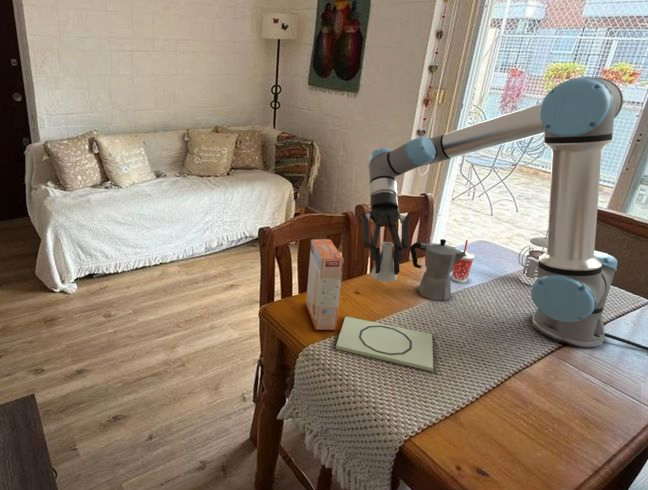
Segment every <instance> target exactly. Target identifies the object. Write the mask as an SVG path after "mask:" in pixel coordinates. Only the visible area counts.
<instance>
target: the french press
mask: <svg viewBox="0 0 648 490" xmlns="http://www.w3.org/2000/svg"><path fill="white" fill-rule="evenodd" d="M547 241H548V229H547V231H546V235H545V236H537V237H536V236H535V237H532V238H530V239H529V243H530V244H532V245H534V246H536V247H540V248H542V250H539V249H534V247H531V245H526V246H524V247H523V248H522V249H521V250H520V251H519V253H518V260H517V261H518V264H519V265H521V266H522V267H523V269H522V273H523V274H525V270H527V273H526V276H527V277H530V278H535V277H538V275H535V276H534V274H538V272H537V271H538V264H539V257H540V256H542V255H543V254H545V253H546V252H547V251H545V250H544V249H547ZM526 248H527V250H526V251H524V250H525V249H526ZM523 251H524V253H523ZM526 252H528V254H527V255H526V257H525V261H523V259H524V256H525V254H526ZM521 253H523V254H522V256H521ZM520 257H521V261H520ZM523 262H524V263H523ZM535 270H537V271H535Z"/></svg>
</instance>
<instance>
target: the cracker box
mask: <svg viewBox="0 0 648 490" xmlns="http://www.w3.org/2000/svg"><path fill="white" fill-rule="evenodd" d="M344 261H345V260H344V257H343V255H341V253H340V252H339V250H338V249H337V247H336V246H335V244H334V242H333V241H332V240H331V239H328V238H326V239H325V238H323V239H322V238H321V239H313V238H312V239H311V240H310V252H309V261H308V262H309V263H308V276H307V288H306V299H305V300H306V301H305V306H306V308H307V311H308V314H309V317H310V320H311V322H312V324H313V327H314V330H315V331H336V330H337V321H338V314H339V306H340V305H339V304H340V294H341V287H342V277H343V267H344Z"/></svg>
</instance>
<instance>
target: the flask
mask: <svg viewBox="0 0 648 490" xmlns="http://www.w3.org/2000/svg"><path fill="white" fill-rule="evenodd" d="M380 245H381V247H382V248H381V252H380V272H379V273H376V271H375V265H374V266H373V268H372V270H371V272H370V277H372V278H373V279H374V280H375V281H379V282H386V283H388V282H389V283H390V282H397V280H398V274H397V275H394V260H393V248H394V243H393V242H391V241H381V244H380Z"/></svg>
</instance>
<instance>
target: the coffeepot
mask: <svg viewBox="0 0 648 490" xmlns="http://www.w3.org/2000/svg"><path fill="white" fill-rule="evenodd" d="M439 241H440V243H437V242H436V243H435V242H432V243H424V242H417V241H416V242H414V243H413V244H412V245H409V252H410V255H411V260H412V266H413V267H414V268H417V269H421V268H422V265H421V264H418V260H419V259H418V257H417V250H416V249H419V250H421V251H424V266H425V268H426V269H425V271H424V272H423V274H422V277H421V281H420V283H419V286H418V288H417V289H418V292H419V294H420V295H421V296H423V297H425V298H427V299H429V300H434V301H446V300H448V299H449V298H450V297H452V291H451V290H452V288H451V286H452V284H451V283H452V281H451V273H452V271H453V268H454V265H455V264H456V263H457V262H458V261H459V260H460V259H461V258H462V257H464V256H466V254H465V253H464V252H462V251H463V250H459V249H457V248H456V247H455V246H452V245H449V244H446V243H447V240H446V239H443V238H441V239H440V240H439Z"/></svg>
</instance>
